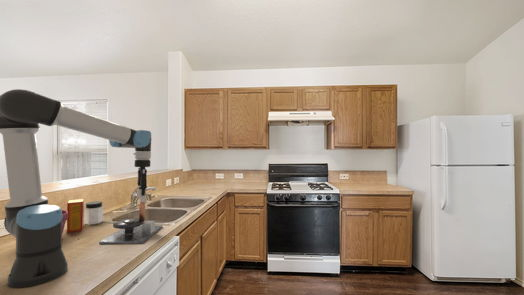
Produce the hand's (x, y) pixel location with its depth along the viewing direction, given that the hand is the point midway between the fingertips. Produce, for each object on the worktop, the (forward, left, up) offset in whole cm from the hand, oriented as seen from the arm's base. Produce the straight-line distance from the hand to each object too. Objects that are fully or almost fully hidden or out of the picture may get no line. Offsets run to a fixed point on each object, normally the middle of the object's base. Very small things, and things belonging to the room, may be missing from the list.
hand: (141, 199), depth 126 cm
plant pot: (-9, +40, -18) cm, 44 cm away
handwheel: (-1, +5, -16) cm, 17 cm away
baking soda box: (+7, +39, -18) cm, 43 cm away
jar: (+19, +37, -18) cm, 45 cm away
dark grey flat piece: (-3, +2, -17) cm, 18 cm away
